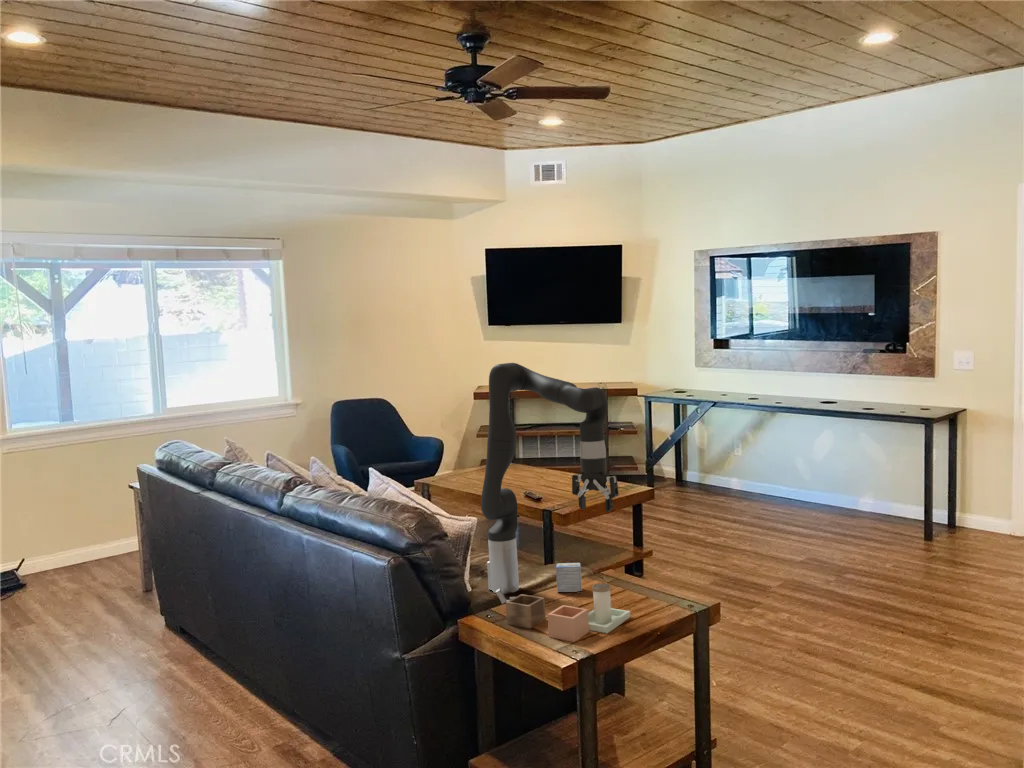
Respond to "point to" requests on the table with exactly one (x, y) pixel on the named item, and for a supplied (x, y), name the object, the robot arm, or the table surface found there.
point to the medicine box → (568, 577)
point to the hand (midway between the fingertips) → (595, 510)
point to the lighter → (502, 596)
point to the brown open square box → (525, 611)
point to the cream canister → (602, 603)
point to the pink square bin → (568, 623)
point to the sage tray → (617, 619)
